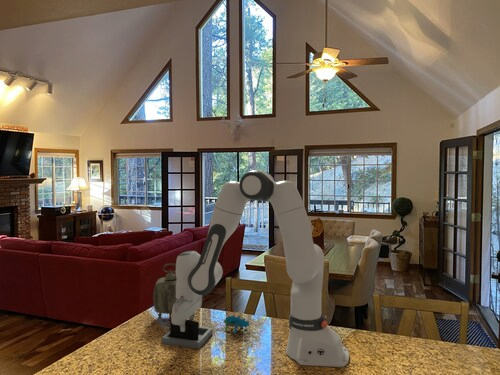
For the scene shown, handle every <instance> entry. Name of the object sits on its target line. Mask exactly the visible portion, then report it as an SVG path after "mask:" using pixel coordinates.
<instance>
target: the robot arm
mask: <svg viewBox="0 0 500 375" xmlns="http://www.w3.org/2000/svg"><path fill="white" fill-rule="evenodd" d="M248 201H269V203H270V204H271V206H272V208H273V212H274V215H275V219H276V221H277V225H278V229H279V231H280V234H281V239H282V244H283V252H284V256H285V257H284V258H285V265H286V266H285V269H286V273H287V276H288V277H289V278H290V280H292V284H291V289H290V312H289V317H288V326H289V328H288V329H289V335H288V341H287V345H286V349H285V353H286V355H287V356H288V357H289V358H291V359H293V360H295V361H296V363H297V364H298V365H301V366H313V367H316V366H317V367H333V368H334V367H335V368H337V367H338V368H343V367H345V366H346V365H347V364H348V363H349V359H350V353H349V350H348V348H347V347H345V346H343V341H342V338H341V336H340V335H339V333H337V332H336V331H334V330H333V329H332V328H331V327H329V326H328V318H327V315H323V314H322V291H323V282H324V267H325V254H324V252H323V250H322V248H321V247H320V246H319V245H318V244H316V243H314V239H313V234H312V225H311V222H310V219H309V216H308V214H307V210H306V208H305V204H304V202H303V199H302V196H301V194H300V192H299V190H298V188H297V187H296V184H295V183H294V182H293V181H291V180H279V181H276V179H275V177H274V176H273V175H272V174H271V173H269V172H267V171H264V170H260V169H254V170H253V169H252V170H248V171H247V172H245V173H244V174H243V175H242V176H241V177H240V180H239V181H237V180H235V181H234V180H231V181H227V182H225V183H224V184H223V186H222V187H221V190H220V192H219V193H218V196H217V197H216V201H215V204H214V207H213V211H212V214H211V218H210V223H209V228H208V232H207V236H206V239H205V241H204V245H203V248H202V251H201V254H200V253H198V252H197V250H188V251H184V252H181V253H180V254H178V255H177V257H176V262H175V264H176V266H175V271H176V272H175V275H176V277H177V282H176V298H177V300H176V303H174V305H173V307H172V314H171V317H172V318H171V321H170V323H171V322H172V324H174V325H180V331H182V332H184V331H185V321H186V320H190V321H195V316H196V312H197V311H199V309H200V308H202V304H203V296H206V295H209V294H210V293H211V292H212V291H213V290H214V288H215V286H216V285H217V284H218V283H219V282H220V280H221V279H222V278H223V275H224V270H223V267H222V265H221V263H220V262H219V261H218V260H219V258H220V254H221V251H222V249H223V247H224V245H225V243H226V242H227V241H228V239H229V238H230V237H231V236H232V235H233V234H234V232H236V229H237V228H238V226H239V224H240V221H241V220H242V217H243V214H244V211H245V207H246V205H247V204H248Z"/></svg>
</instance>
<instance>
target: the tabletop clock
mask: <svg viewBox="0 0 500 375" xmlns="http://www.w3.org/2000/svg"><path fill="white" fill-rule="evenodd" d="M167 266H175V267H176V263H173V262H172V263H170V262H169V263H166V264H164V265H163V266H162V271H164V272H165V273H167V274H166V275H165V276H164V277H160V278H158V279H157V281H156V282H155V285H154V288H153V293H152V294H153V295H152V300H153V309H154V310H155V313H158V315H157V316H158V317H160V318H161V317H162V315H163V314H168V315H169V317H168V321H169V322H171V318H172V307H173V305H174V303H176V300H177V298H176V282H177V277H176V270H173V269H169V270H165V269H164V268H165V267H167Z"/></svg>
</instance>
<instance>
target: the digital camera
mask: <svg viewBox="0 0 500 375" xmlns="http://www.w3.org/2000/svg"><path fill="white" fill-rule="evenodd" d="M199 325H200V322H199V321H196V320H194V321H190V320H189V319H187V320H186V321H185V331H184V332H182V331H180V325H174V324H172V322H171V321H170V330H169V331H170V337H172V338H180V339H187V340H194V341H197V340H198V334H199V327H200V326H199Z"/></svg>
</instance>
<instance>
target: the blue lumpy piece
mask: <svg viewBox="0 0 500 375" xmlns="http://www.w3.org/2000/svg"><path fill="white" fill-rule="evenodd" d="M223 323H224V324H225V325H224V326H225V329H224V332H227V330H228V327H234V330H233V334H234V335H236V334H237V331H238V327H239V328H242V329H243V328H248V327H249V326H250V321H248V320H246V318H244V317H242V318H241V316H239V315H238V316H235V315H231V316H230V315H228V316H227V317H225V318H224V320H223Z"/></svg>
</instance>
